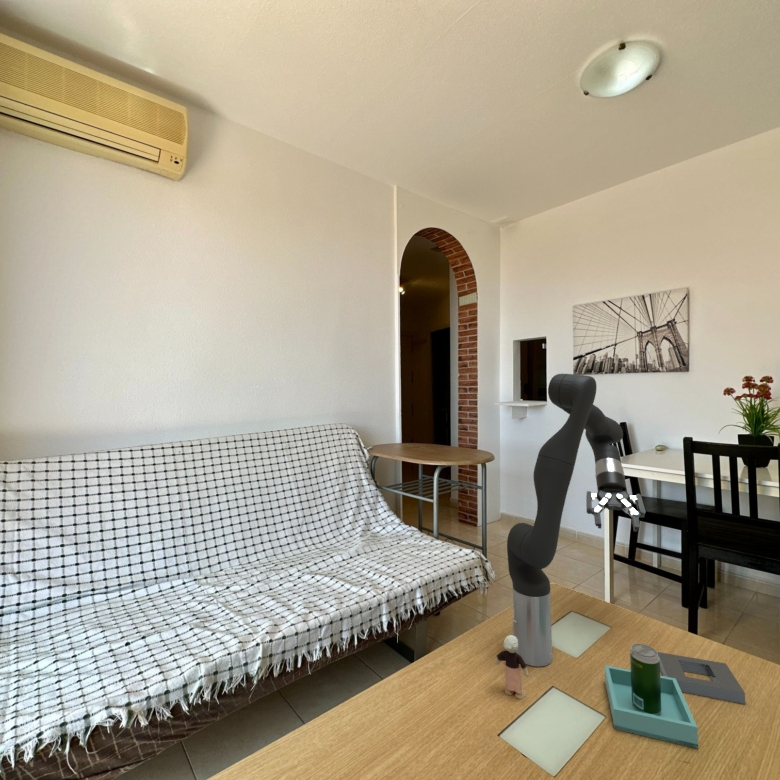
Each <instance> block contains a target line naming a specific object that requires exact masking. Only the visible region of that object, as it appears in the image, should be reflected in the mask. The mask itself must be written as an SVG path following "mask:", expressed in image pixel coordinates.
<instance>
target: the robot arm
mask: <svg viewBox="0 0 780 780" xmlns="http://www.w3.org/2000/svg"><path fill="white" fill-rule="evenodd" d="M547 394H548V398H549V400H550V402H551V403H552V404H553V405H555V406H556V407H558V408H559V409H561V410H563V411H564V412H565V413H566V414H568V418H567V420H566V421H565V423H564V424H563V426H562V427H561V428H560V429H559V430H557V432H555V433H554V434H553V435H552V436H551V437H550V438H549V439H548V440H546V442H545V443H543V445H542V446H541V448H540V449H539V451H538V453H537V458H536V461H535V465H534V468H533V469H534V470H533V485H534V491H535V495H536V500H537V506H536V507H537V508H536V509H537V510H536V516H535V519H534V520H535V521H534V523H533V525H531V524H529V523H526V522H518V523H516V524H514V525H513V526H512V527H511V529H510V530H509V533H508V535H507V541H506V550H507V566H508V573H509V577H510V579H511V583H512V603H513V604H512V609H513V614H512V615H513V616H512V635H513V636H515V637H516V638H517V639H518V649H517V651H516V653H517V654H519V655H520V656H521V657H522V659H523V661H524V662H525V664H526V665H528V666H532V667H545V666H548V665H550V664H551V663H552V661H553V644H552V643H553V639H552V638H553V636H552V608H551V603H552V602H551V582H550V578H549V577H548V576H547V575H546V574H545V571H544V570H543V569H546V568H548V566H550V564H551V563H552V562H553V560H554V557H555V555H556V552H557V549H558V548H557V547H558V543H559V536H560V530H561V529H560V528H561V522H562V517H563V511H564V507H565V503H566V500H567V499H566V498H567V494H568V490H569V487H570V484H571V481H572V476H573V473H574V470H575V465H576V461H577V456H578V453H579V447H580V445H581V440H582V437H583V434H584V431H585V438H586V440H587V442H588V444H589V445H590V447H591V450H592V453H593V456H594V465H595V466H594V467H595V469H594V471H595V472H594V473H595V481H596V489H597V490H596V491H597V493H594V492H593V493H592V492H591V491H590V490H588V491H586V498H585V500H586V505H585V506H586V513H587V514H588V515H592V516H594V517H593V520H594V525H595V527H597V529H602V518H601V513H604V511H605V510H606V509H607V510H609V511H612V510H613V511H621V510H622V512H624V513H625V514H627V515H629V516H630V517H631V522H632V523H631V524H632V528H633V529H632V530H633V532H636V533H637V532H638V531H640V527H641V523H640V519H639V518H645V516H646V515H645V514H646V512H647V511H646V509H645V504H644V501H643V498H642V495H641V493H636V495H630V494H629V493H628V487H627V484H626V476H625V471H624V468H623V465H622V459H621V453H620V450H619V448H618V447H616V446H615V445H612V444H616V443H619V442H620V441H621V440H622V439H623V437H624V432H623V429H622V427H621V425H620V424H619V423H618V422H617V421H616V420H614V419H612V418H610V417H608V416H606V415H605V414H604V413H603V411H602V410H601V409H600V408H599V407H597V405H594V402H595V399H596V395H597V380H596V379H595V378H594V377H592V376H590V375H585V374H584V375H583V374H571V373H557V374H555V375H553V377H551V379H550V381H549V383H548V388H547ZM595 499H596V500H597V501H598V502H599V503H598V505H597V506H596V507H595V508H594V507H592V502H594V501H595ZM630 501H631V502H633V504H634V505H636V509H637V510H636V509H635V508H634V507H633V506H632V504H631V503H630Z"/></svg>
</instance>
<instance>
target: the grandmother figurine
mask: <svg viewBox="0 0 780 780" xmlns="http://www.w3.org/2000/svg"><path fill="white" fill-rule="evenodd" d="M502 646H503V648H504V649H505V650H501V651H500V652H499V653H498V654H497V655H496V658H495V660H494V663H495V664H496V665H499V664H501V663H500V662H505V663H504V681H505V682H504V683H505V691H504V693H505V695H507V696H513V694H514V697H515V698H516V699H518V700H522V699H523V698H525V697H526V695H527V694H526V691H525V690H524V689H523V682H522V681H523V680H522V672H523V675H524V676H525V677H526V678H528V677H530V673H529V671H528V666H527V664H525V662H524V661H523V659H522V657H521V656H520V655H519V654H517V653H516V651H517V649H518V639H517V638H516V637H515V636H513V634H509V635H507V636H506V637H505V639H504V641H503V643H502ZM521 670H522V671H521Z"/></svg>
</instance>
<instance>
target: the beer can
mask: <svg viewBox="0 0 780 780" xmlns="http://www.w3.org/2000/svg"><path fill="white" fill-rule="evenodd" d="M658 652H659V651H658V650H656V649H655V648H654V647H652V646H650V645H647V644H645V643H634V644H632V645H631V646H630V650H629V657H630V660H629V661H630V662H629V663H630V664H629V666H630V670H631V693H632V703H633V705H634V707H635V708H636V709H637V710H638V711H639V712H642V713H647V714H652V715H656V716H657V715H659V714H660V712H661V710H662V709H661V682H660V676H661V670H660V659H659V656H658Z"/></svg>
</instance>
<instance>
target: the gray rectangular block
mask: <svg viewBox="0 0 780 780" xmlns="http://www.w3.org/2000/svg"><path fill="white" fill-rule="evenodd" d="M657 652H658V656H659V659H660V673H661V676H665V677H671V678H676V680H677V683H678V685H679V687H680V689H681V692H682V693H686V694H690V695H695V696H699V697H700V696H701V697H705V698H711V699H714V700H715V699H716V700H720V701H726V702H731V703H736V704H741V705H746V692H745V691H744V689H743V687H742V686H741V684H740V683H739V681H738V680H737V679H736V677H735V676H734V674H733V671H731V669H730V668H729V666H728V664H727V663H726V662H719V661H714V660H708V659H701V658H696V657H691V656H684V655H678V654H672V653H666V652H662V651H661V652H660V651H657ZM687 672H688V673H693V674H698V675H704V676H708V677H709V678H710V680H708V679H707V680H706V679H701V678H696V677H691V676H687V675H686V674H685V673H687Z"/></svg>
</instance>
